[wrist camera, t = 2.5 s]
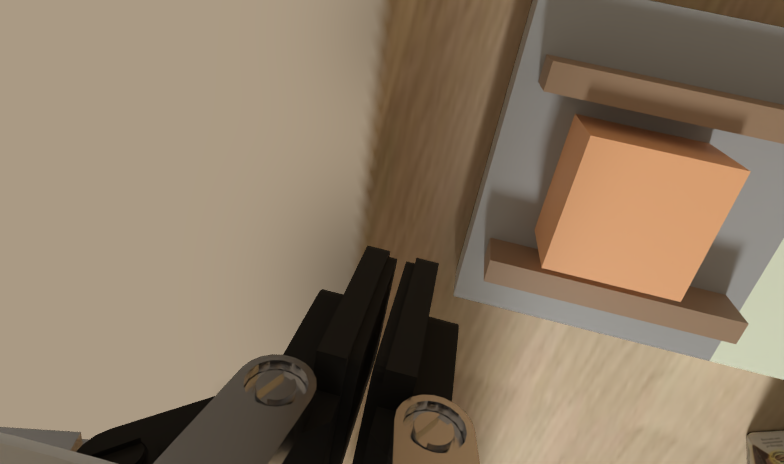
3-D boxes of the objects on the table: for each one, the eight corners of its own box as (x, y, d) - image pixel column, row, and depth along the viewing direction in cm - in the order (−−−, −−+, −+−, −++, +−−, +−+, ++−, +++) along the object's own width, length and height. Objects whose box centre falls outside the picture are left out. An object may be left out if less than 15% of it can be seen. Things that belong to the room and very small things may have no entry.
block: (653, 258, 25) (680, 302, 22) (534, 229, 26) (541, 268, 22) (709, 143, 22) (751, 171, 19) (574, 113, 23) (590, 135, 19)
